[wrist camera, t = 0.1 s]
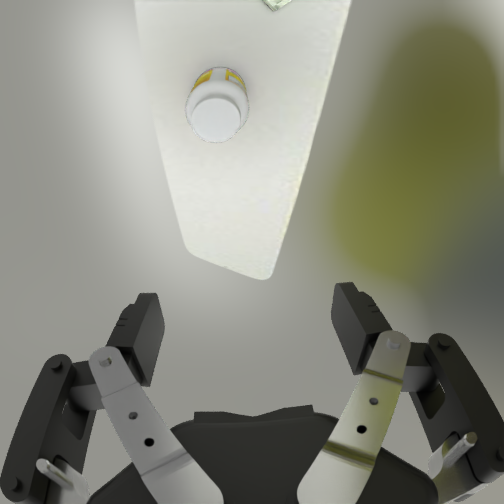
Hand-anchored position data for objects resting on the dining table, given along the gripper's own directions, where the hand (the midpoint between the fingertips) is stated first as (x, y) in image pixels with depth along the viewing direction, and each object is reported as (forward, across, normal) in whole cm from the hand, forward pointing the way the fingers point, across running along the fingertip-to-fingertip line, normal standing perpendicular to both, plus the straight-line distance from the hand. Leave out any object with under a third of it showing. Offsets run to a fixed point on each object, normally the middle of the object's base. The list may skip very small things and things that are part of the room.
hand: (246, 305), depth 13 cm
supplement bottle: (+29, +2, -13) cm, 32 cm away
